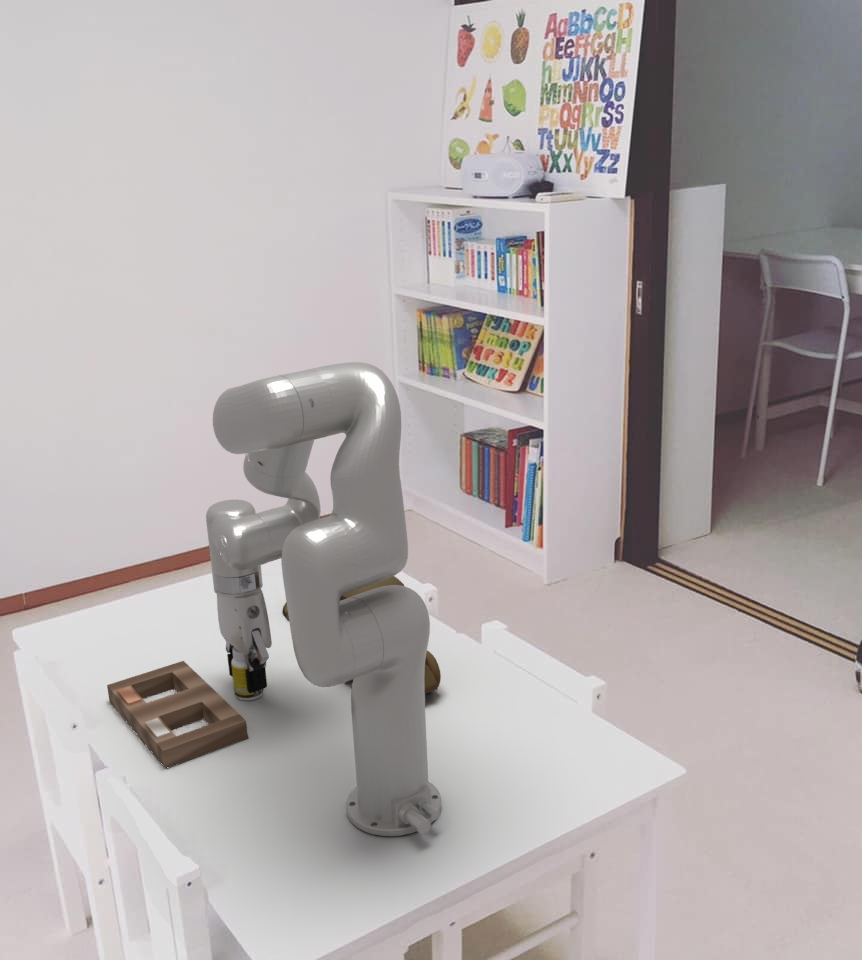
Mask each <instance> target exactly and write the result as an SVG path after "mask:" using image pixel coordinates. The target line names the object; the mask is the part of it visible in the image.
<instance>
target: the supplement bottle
mask: <svg viewBox="0 0 862 960" xmlns="http://www.w3.org/2000/svg"><path fill="white" fill-rule="evenodd" d="M252 649H255V647H254V646H251V648H249V650H252ZM232 651H233V659H232V662H231V665H232V674H233V677H232V681H233V682H232V683H233V692H234V696H235V698H236V699H237V700H240V701H245V702H246V701H254V700H257V699H259V698H261V697H262V696H263V694H264V692H265V688H264V689H262V690H259V691H256V692H253V693H249V692H248V691H247V682H246V673H245V670H247V665H246V661H245V657H244V654H243V653H241V652H240V651H238V650H237V649H236V648H235V647H233V649H232ZM250 657H251V661H253V659H254V658H256V657H257V653H255V654H251V655H250Z"/></svg>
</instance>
